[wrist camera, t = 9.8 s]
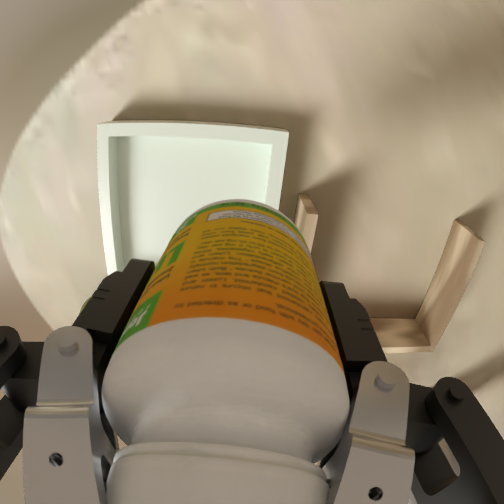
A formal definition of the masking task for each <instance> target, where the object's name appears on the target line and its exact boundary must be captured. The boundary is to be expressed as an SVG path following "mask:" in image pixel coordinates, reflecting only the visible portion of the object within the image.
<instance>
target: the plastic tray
mask: <svg viewBox="0 0 504 504" xmlns="http://www.w3.org/2000/svg"><path fill="white" fill-rule="evenodd" d="M288 138H289V132H288V131H287V130H286V129H280V128H272V127H263V126H254V125H244V124H232V123H219V122H203V121H179V120H120V121H108V122H104V123H99V124H97V165H98V187H99V202H100V214H101V224H102V234H103V243H104V251H105V258H106V265H107V272H108V276H109V275H110V274H112V273H113V272H115V271H120V272H122V271H123V270H124V268H125V267H126V266H127V264H128V263H129V261H130V260H131V259H132V258H134V259H141V260H149V261H154V263H155V268H156V266H157V264H158V262H159V260H160V258H161V257H162V255H163V253H164V251H165V249H166V247H167V245H168V243H169V242H170V240H171V238H172V236H173V235H174V233H175V232H176V230H177V229H178V227H179V226H180V225H181V223H182V222H183V221H184V220H185V219H186V218H187V217H188V216H190V215H191V214H192V213H193V212H195V211H196V210H198V209H200V208H202V207H204V206H206V205H208V204H211V203H214V202H218V201H222V200H229V199H246V200H252V201H257V202H260V203H263V204H266V205H268V206H271V207H273V208H275V209H276V210H278V209H279V203H280V196H281V189H282V181H283V174H284V167H285V160H286V152H287V145H288Z"/></svg>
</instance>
